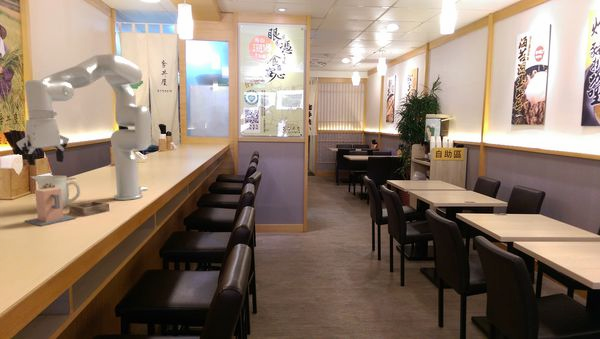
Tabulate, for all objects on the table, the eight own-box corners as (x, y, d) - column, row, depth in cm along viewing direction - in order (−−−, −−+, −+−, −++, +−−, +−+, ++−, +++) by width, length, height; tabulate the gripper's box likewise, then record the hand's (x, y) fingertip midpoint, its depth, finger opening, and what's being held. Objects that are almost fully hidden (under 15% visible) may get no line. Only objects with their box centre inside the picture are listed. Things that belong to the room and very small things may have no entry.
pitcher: (77, 210, 168) (74, 176, 166) (28, 212, 165) (24, 178, 163) (85, 204, 179) (82, 173, 177) (39, 206, 175) (36, 174, 173)
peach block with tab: (54, 216, 156) (52, 187, 155) (67, 219, 152) (65, 189, 150) (37, 219, 151) (35, 190, 150) (50, 222, 147) (48, 192, 145)
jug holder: (94, 207, 172) (94, 200, 171) (109, 210, 166) (109, 203, 166) (69, 213, 163) (68, 205, 163) (84, 216, 158) (83, 208, 157)
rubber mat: (58, 214, 160) (58, 213, 160) (75, 218, 154) (75, 217, 154) (24, 221, 150) (24, 220, 150) (41, 226, 144) (41, 224, 144)
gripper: (60, 114, 156) (64, 159, 159) (8, 116, 142) (15, 165, 145) (71, 114, 152) (75, 160, 155) (19, 116, 138) (25, 167, 141)
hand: (46, 163), depth 150 cm, fingers open, 9 cm apart
